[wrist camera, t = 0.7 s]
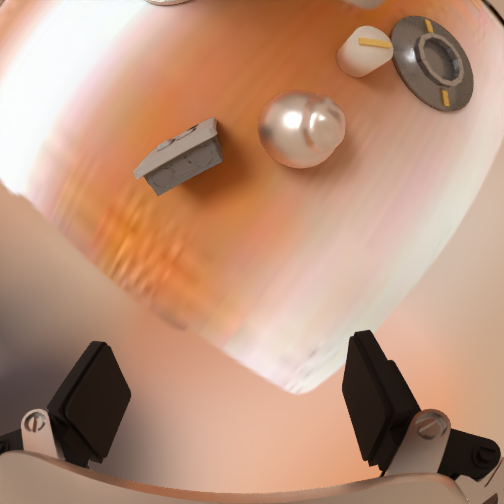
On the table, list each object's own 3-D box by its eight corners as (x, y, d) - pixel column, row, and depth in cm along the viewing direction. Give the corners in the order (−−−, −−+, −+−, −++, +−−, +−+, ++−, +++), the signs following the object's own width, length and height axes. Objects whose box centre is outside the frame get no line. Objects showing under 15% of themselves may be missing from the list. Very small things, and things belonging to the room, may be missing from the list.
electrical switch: (215, 116, 32) (205, 110, 23) (233, 152, 33) (229, 158, 25) (150, 151, 33) (122, 159, 24) (169, 185, 35) (146, 203, 26)
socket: (378, 9, 25) (385, 2, 22) (457, 31, 24) (465, 28, 22) (399, 104, 30) (408, 102, 28) (476, 117, 29) (485, 117, 27)
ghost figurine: (324, 175, 34) (349, 183, 24) (250, 157, 33) (249, 158, 24) (339, 109, 31) (369, 95, 21) (266, 90, 30) (271, 65, 21)
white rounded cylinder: (333, 43, 28) (350, 21, 21) (367, 46, 27) (390, 27, 20) (339, 76, 29) (358, 59, 22) (373, 78, 29) (399, 64, 22)
